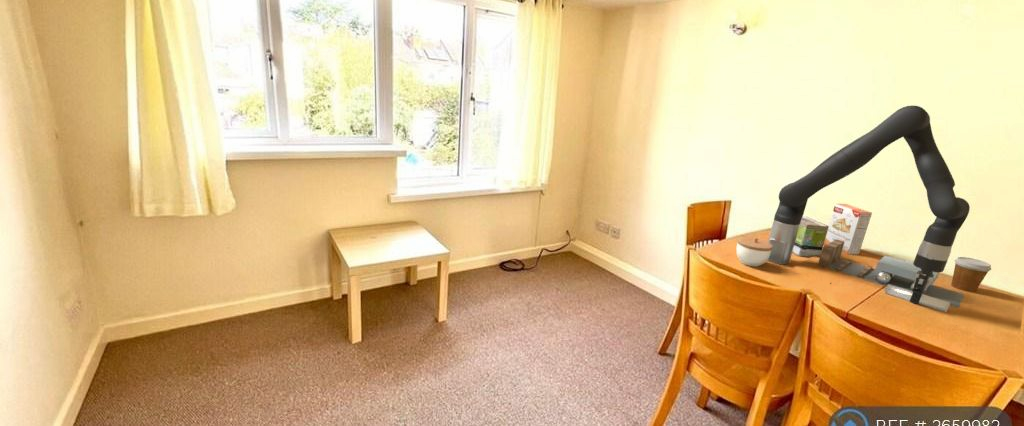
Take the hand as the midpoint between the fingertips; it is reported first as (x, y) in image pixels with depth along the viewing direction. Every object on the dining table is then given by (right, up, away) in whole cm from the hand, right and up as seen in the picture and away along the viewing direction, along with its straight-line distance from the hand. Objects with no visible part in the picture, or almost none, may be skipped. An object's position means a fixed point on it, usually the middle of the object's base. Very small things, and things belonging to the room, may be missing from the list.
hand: (915, 300), depth 146 cm
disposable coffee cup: (+31, +1, +14) cm, 34 cm away
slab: (+9, +8, +13) cm, 18 cm away
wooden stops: (-3, +7, +28) cm, 29 cm away
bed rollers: (+9, +4, +14) cm, 17 cm away
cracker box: (+12, +13, +50) cm, 53 cm away
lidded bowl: (-42, +10, +28) cm, 51 cm away
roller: (0, -1, +1) cm, 1 cm away
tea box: (-9, +13, +46) cm, 49 cm away
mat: (+7, +3, +17) cm, 18 cm away
